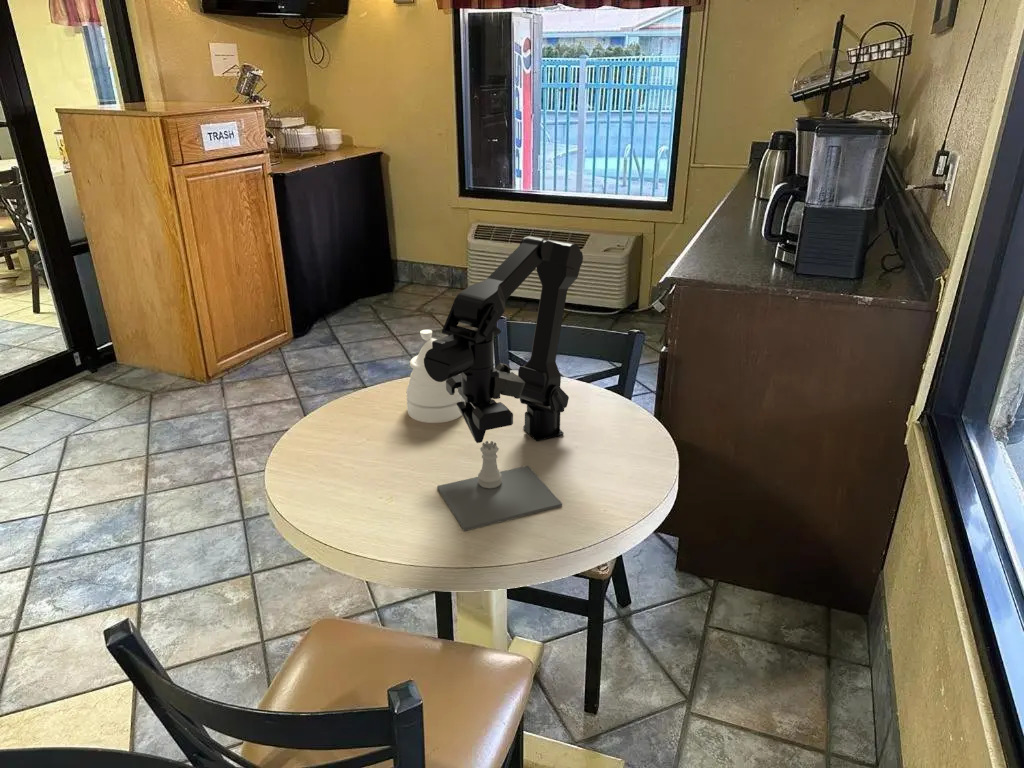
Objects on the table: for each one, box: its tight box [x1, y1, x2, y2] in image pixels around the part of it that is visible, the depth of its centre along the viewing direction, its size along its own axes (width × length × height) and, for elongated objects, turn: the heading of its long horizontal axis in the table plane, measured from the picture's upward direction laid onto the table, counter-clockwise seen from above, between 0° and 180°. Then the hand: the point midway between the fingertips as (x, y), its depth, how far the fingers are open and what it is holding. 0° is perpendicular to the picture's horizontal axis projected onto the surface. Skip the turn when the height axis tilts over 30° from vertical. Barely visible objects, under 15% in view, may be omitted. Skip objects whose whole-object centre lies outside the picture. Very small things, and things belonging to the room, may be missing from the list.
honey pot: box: [406, 329, 463, 424], centre depth 155 cm, size 13×13×18 cm
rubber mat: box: [437, 465, 563, 532], centre depth 126 cm, size 18×14×1 cm
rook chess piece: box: [477, 440, 502, 489], centre depth 128 cm, size 4×4×8 cm
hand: (478, 441), depth 131 cm, fingers closed
